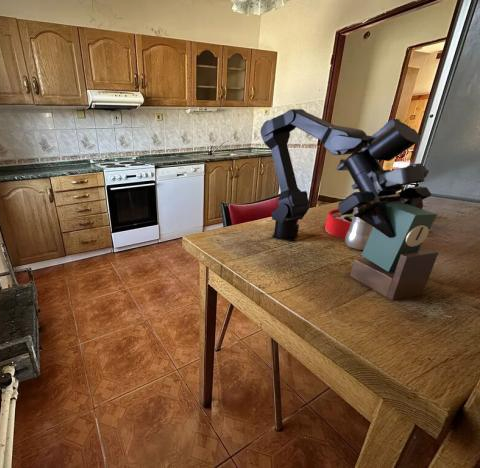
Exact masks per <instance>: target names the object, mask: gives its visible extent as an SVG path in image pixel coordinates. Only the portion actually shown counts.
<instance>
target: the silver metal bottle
mask: <svg viewBox="0 0 480 468" xmlns="http://www.w3.org/2000/svg"><path fill="white" fill-rule="evenodd" d="M353 209H354V212H353V217H352V222H351V225H350V228H349V231H348V232H347V234H346V237H345V239H344V242H345V245H346V246H347V247H349V248H351V249H354V250H360V251H363V250H364V248H365V245H366V243H367V241H368V238H369V236H370V233H371V231H372V228H373V226H371V225H370V224H368V223H367V222H365V221H363V220H362V219H360V218H358V217H354V214H356V213H358V210H357V209H358V208H357V207H355V208H353Z"/></svg>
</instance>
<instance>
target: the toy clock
mask: <svg viewBox="0 0 480 468" xmlns="http://www.w3.org/2000/svg"><path fill="white" fill-rule="evenodd" d="M352 217H353V213H352V214H350V215H341V214H340V212H339V210H338V208H334V209H330V210H329V211H328V212H327V217H326V222H325V227H324V230H325V231H326V232H327V233H328V234H329V235H331V236H334V237H336V238H339V239H342V240H345V237H346V234H347V232H348V231H349V228H350V225H351V222H352Z"/></svg>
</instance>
